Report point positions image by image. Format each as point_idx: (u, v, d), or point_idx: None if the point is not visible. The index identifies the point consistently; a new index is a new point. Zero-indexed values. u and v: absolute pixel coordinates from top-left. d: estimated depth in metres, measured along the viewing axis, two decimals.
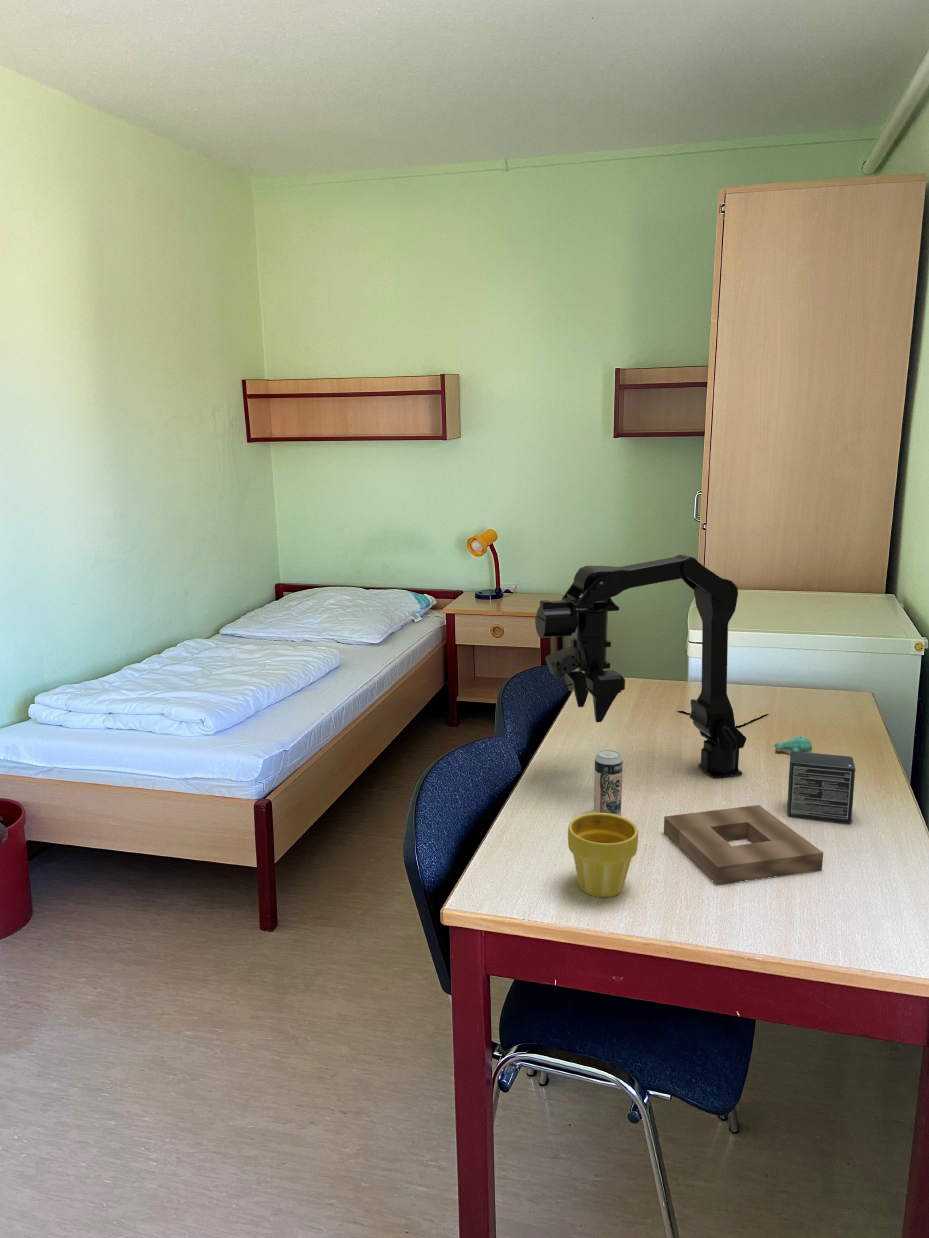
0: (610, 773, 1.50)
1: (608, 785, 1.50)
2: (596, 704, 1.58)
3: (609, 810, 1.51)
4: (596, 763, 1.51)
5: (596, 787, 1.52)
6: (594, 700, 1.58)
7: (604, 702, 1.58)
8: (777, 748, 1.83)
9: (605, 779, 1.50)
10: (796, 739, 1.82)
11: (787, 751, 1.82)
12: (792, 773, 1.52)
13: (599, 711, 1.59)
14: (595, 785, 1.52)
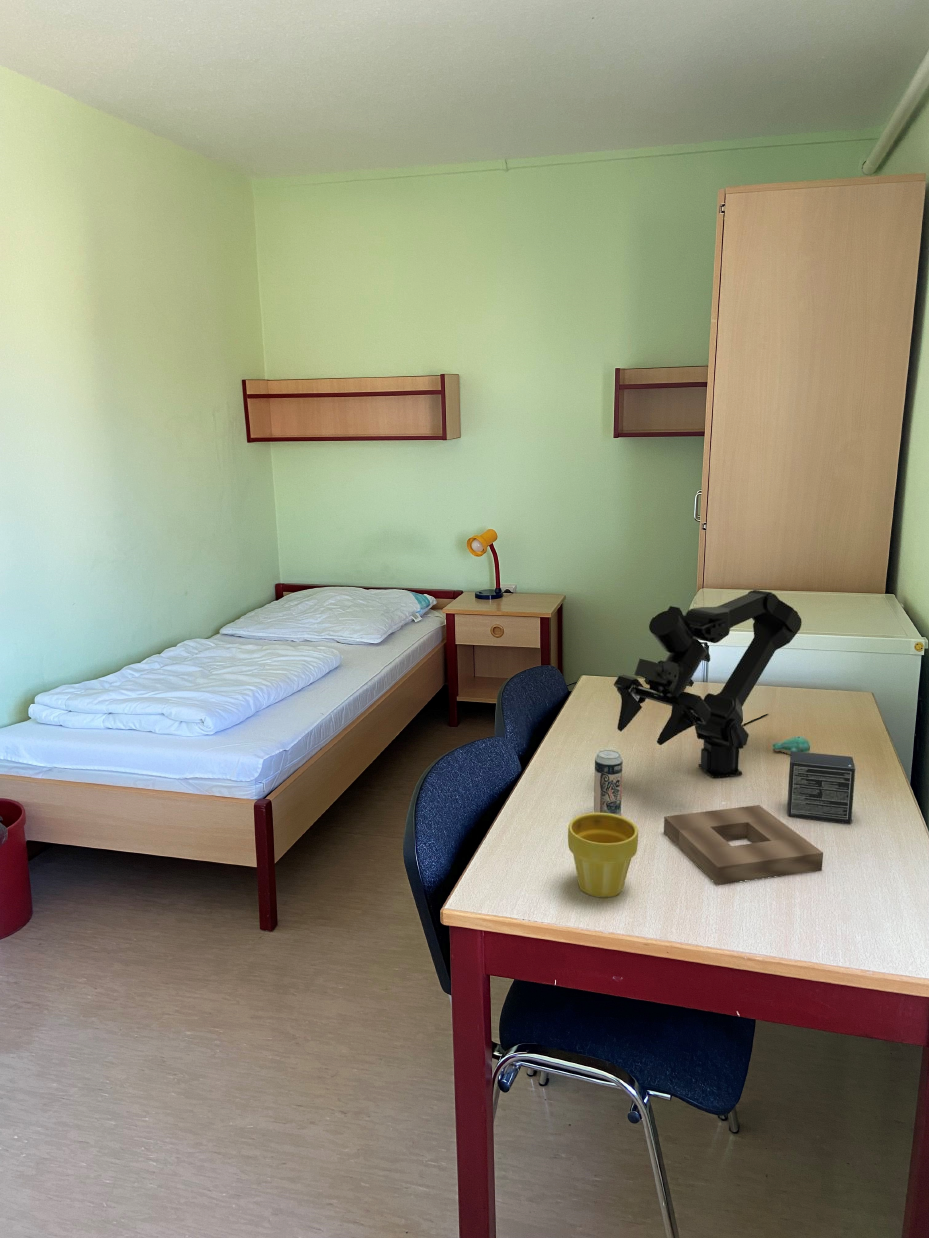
0: (610, 773, 1.50)
1: (608, 785, 1.50)
2: (672, 724, 1.52)
3: (609, 810, 1.51)
4: (596, 763, 1.51)
5: (596, 787, 1.52)
6: (671, 719, 1.52)
7: (676, 727, 1.53)
8: (775, 748, 1.83)
9: (605, 779, 1.50)
10: (794, 739, 1.82)
11: (785, 751, 1.82)
12: (792, 773, 1.52)
13: (668, 733, 1.52)
14: (595, 785, 1.52)
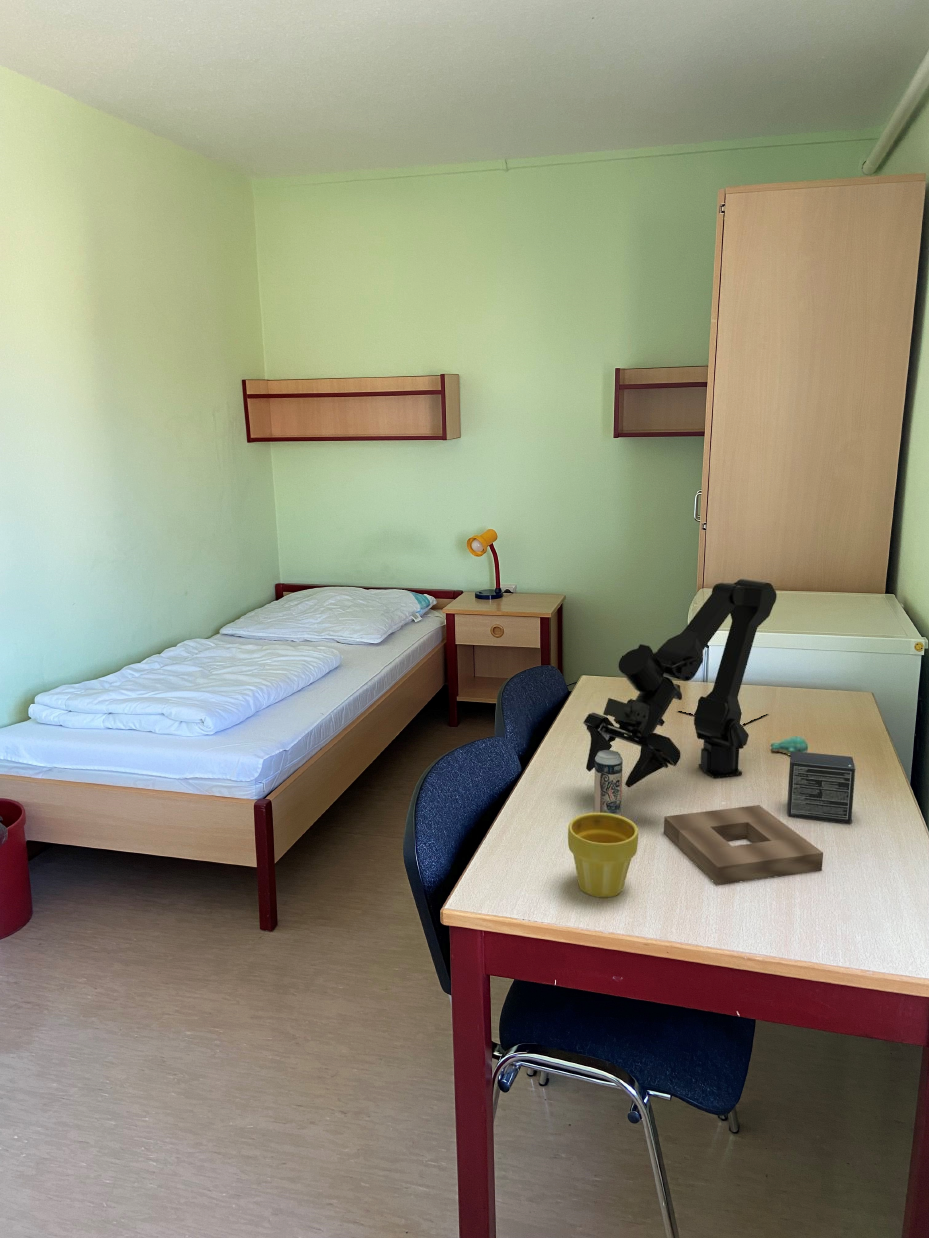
0: (610, 773, 1.50)
1: (608, 785, 1.50)
2: (641, 766, 1.48)
3: (609, 810, 1.51)
4: (596, 763, 1.51)
5: (596, 787, 1.52)
6: (640, 761, 1.48)
7: (645, 769, 1.49)
8: (773, 748, 1.83)
9: (605, 779, 1.50)
10: (792, 739, 1.82)
11: (783, 751, 1.82)
12: (792, 773, 1.52)
13: (636, 775, 1.48)
14: (595, 785, 1.52)
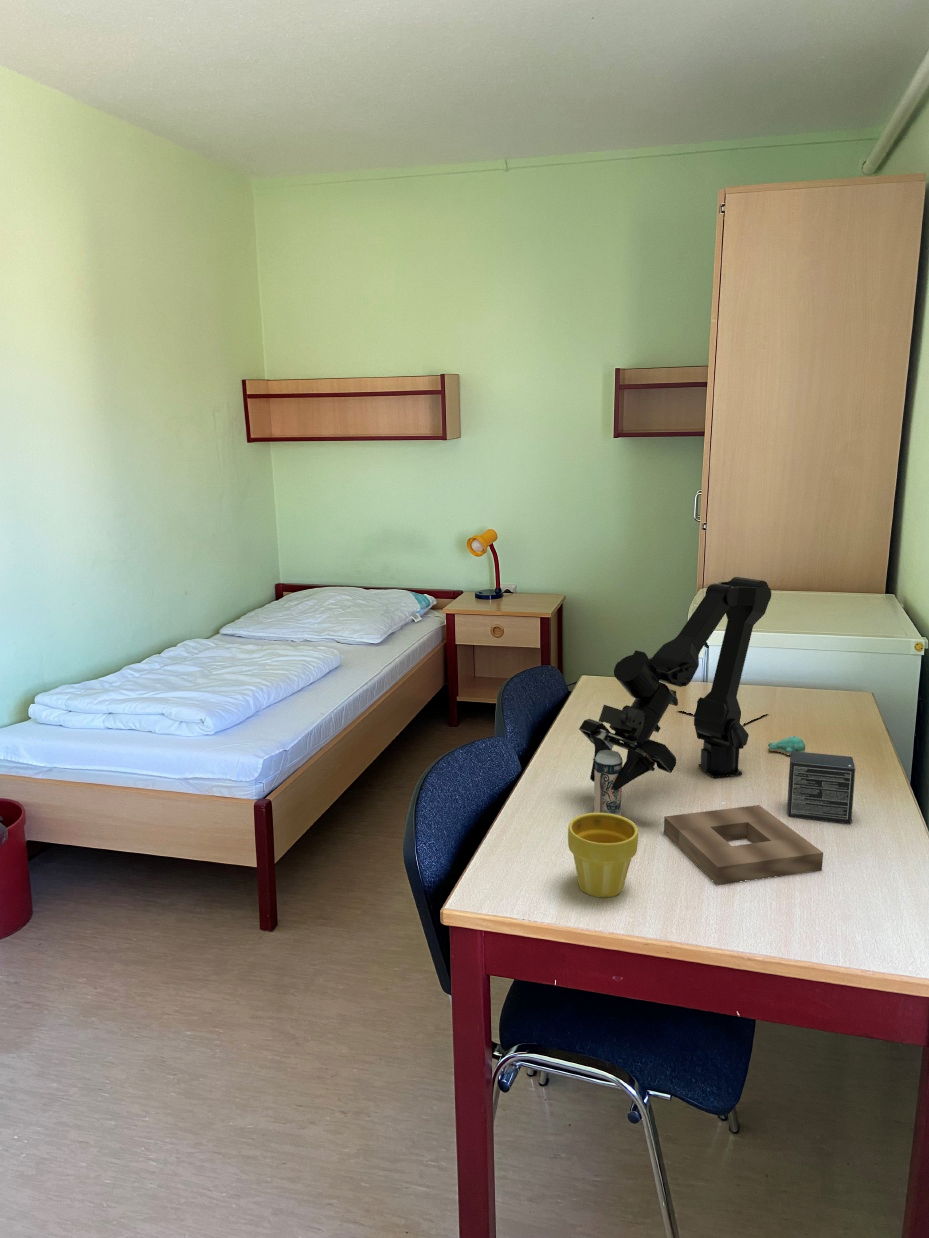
0: (610, 773, 1.50)
1: (607, 785, 1.50)
2: (627, 769, 1.49)
3: (609, 810, 1.51)
4: (596, 763, 1.51)
5: (596, 787, 1.52)
6: (626, 764, 1.50)
7: (632, 773, 1.50)
8: (770, 748, 1.83)
9: (605, 779, 1.50)
10: (789, 739, 1.82)
11: (780, 751, 1.82)
12: (792, 773, 1.52)
13: (623, 778, 1.50)
14: (595, 785, 1.52)
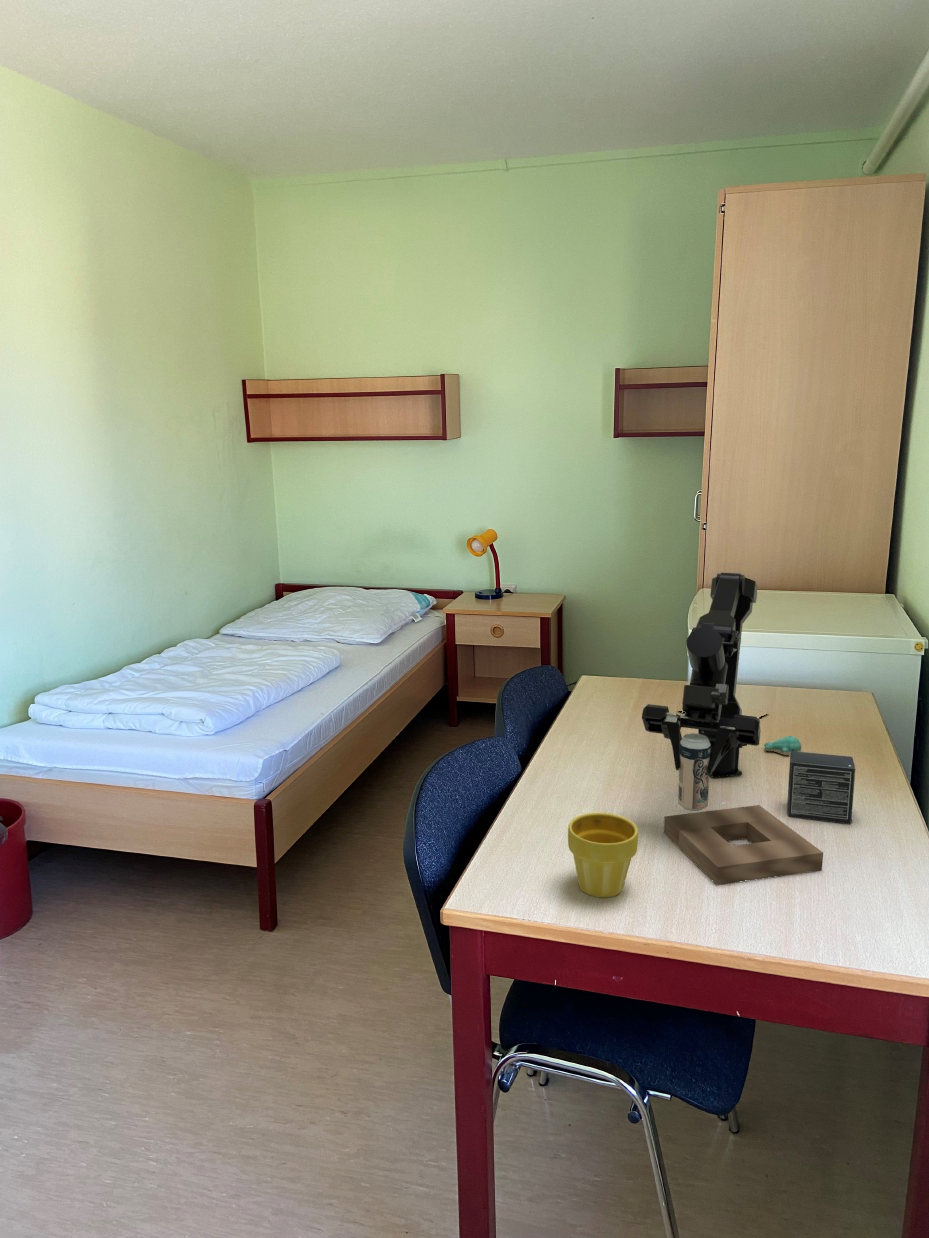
0: (704, 758, 1.39)
1: (702, 771, 1.39)
2: (720, 750, 1.39)
3: (702, 797, 1.40)
4: (687, 750, 1.39)
5: (687, 776, 1.40)
6: (717, 745, 1.40)
7: (720, 752, 1.41)
8: (766, 748, 1.83)
9: (700, 765, 1.39)
10: (785, 739, 1.82)
11: (776, 751, 1.83)
12: (792, 773, 1.52)
13: (716, 760, 1.39)
14: (684, 774, 1.40)
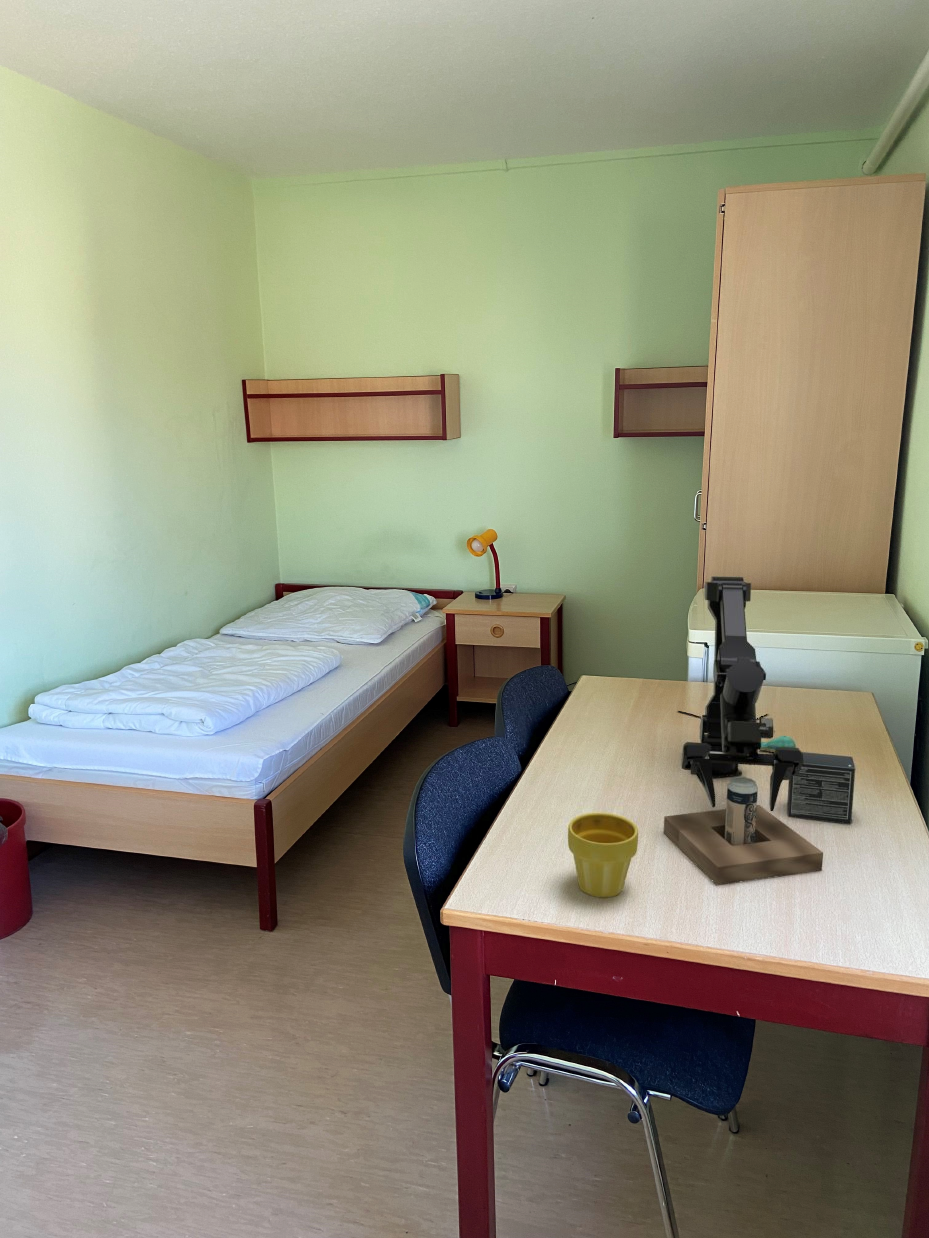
0: (754, 801, 1.38)
1: (752, 814, 1.38)
2: None
3: (752, 841, 1.39)
4: (737, 795, 1.37)
5: (737, 821, 1.38)
6: (777, 780, 1.39)
7: None
8: (761, 747, 1.83)
9: (750, 809, 1.38)
10: (780, 738, 1.83)
11: (771, 750, 1.83)
12: None
13: None
14: (734, 819, 1.39)
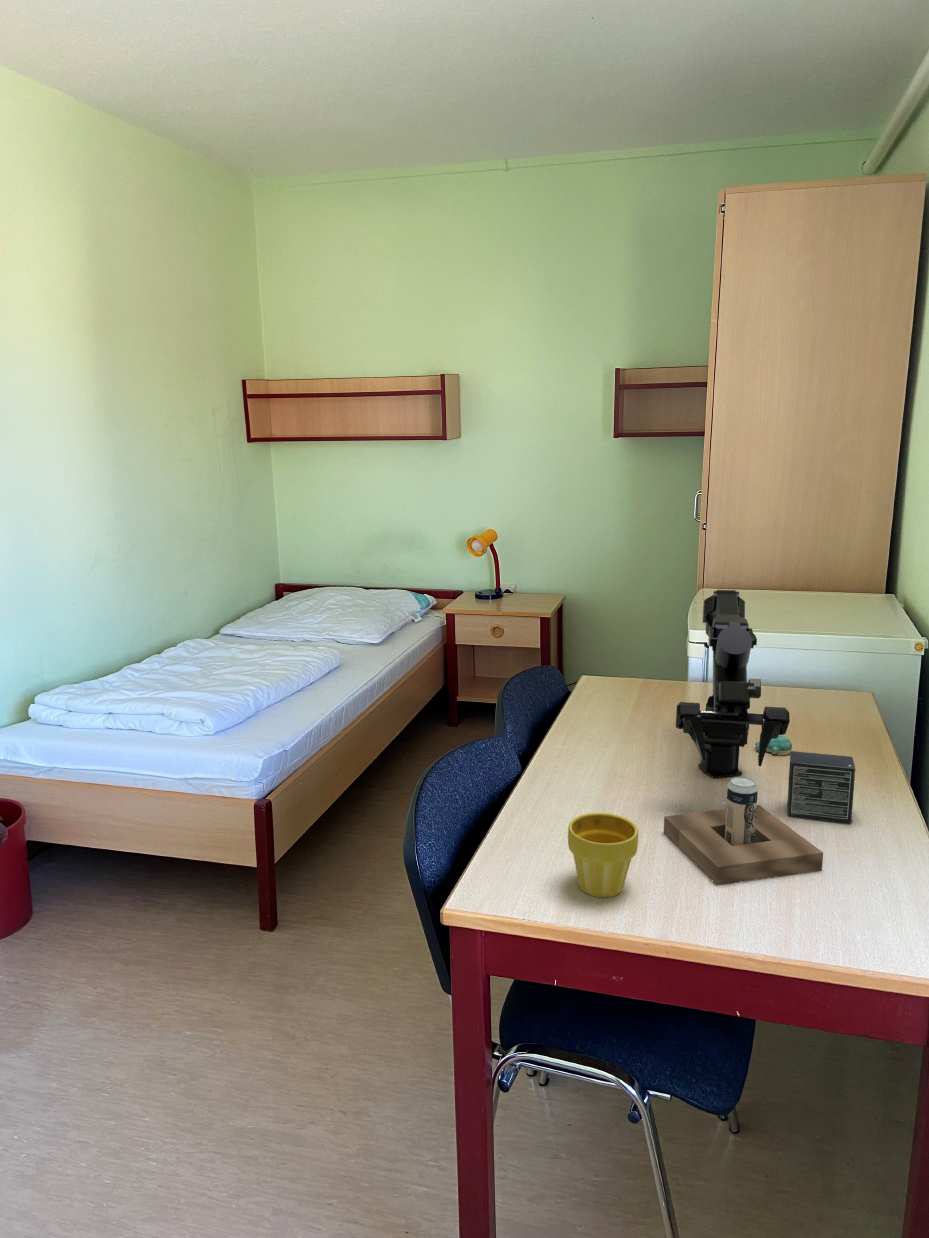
0: (754, 801, 1.38)
1: (752, 815, 1.38)
2: (768, 742, 1.47)
3: (752, 841, 1.39)
4: (738, 795, 1.37)
5: (737, 821, 1.38)
6: (765, 737, 1.47)
7: None
8: (757, 747, 1.83)
9: (750, 809, 1.38)
10: (776, 738, 1.83)
11: (767, 750, 1.83)
12: (792, 773, 1.52)
13: None
14: (734, 819, 1.39)
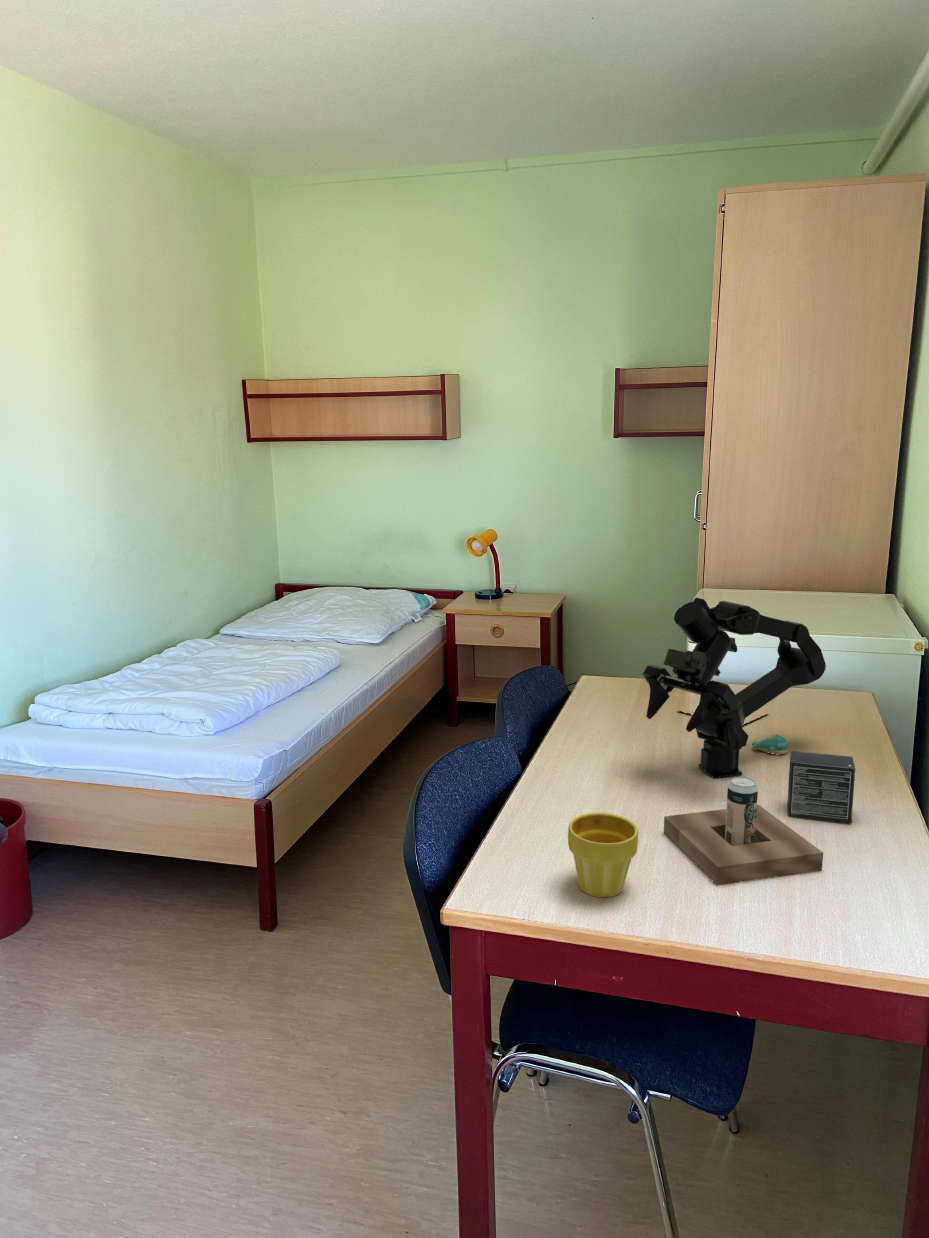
0: (755, 801, 1.38)
1: (752, 815, 1.38)
2: (700, 711, 1.57)
3: (752, 841, 1.39)
4: (738, 795, 1.37)
5: (738, 821, 1.38)
6: (700, 707, 1.58)
7: (704, 715, 1.58)
8: (754, 746, 1.84)
9: (751, 809, 1.38)
10: (772, 738, 1.83)
11: (764, 749, 1.83)
12: (792, 773, 1.52)
13: (696, 720, 1.58)
14: (734, 819, 1.39)
